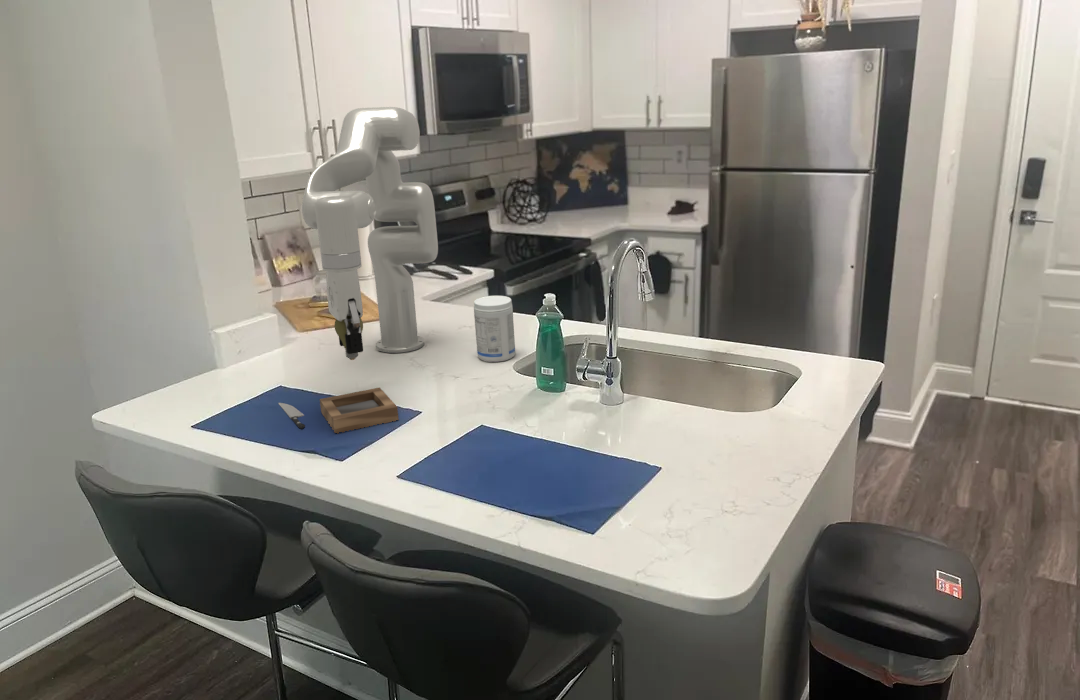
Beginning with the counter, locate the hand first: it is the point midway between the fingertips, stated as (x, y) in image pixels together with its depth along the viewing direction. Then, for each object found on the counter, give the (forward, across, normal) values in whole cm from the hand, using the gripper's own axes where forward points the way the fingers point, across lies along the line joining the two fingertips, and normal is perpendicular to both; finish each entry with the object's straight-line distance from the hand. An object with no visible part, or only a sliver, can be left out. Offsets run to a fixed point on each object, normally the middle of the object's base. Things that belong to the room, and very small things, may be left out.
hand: (351, 347), depth 164 cm
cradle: (+15, 0, 0) cm, 15 cm away
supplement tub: (+15, -20, +40) cm, 47 cm away
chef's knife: (+16, -9, -12) cm, 21 cm away
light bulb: (+3, 0, 0) cm, 3 cm away
